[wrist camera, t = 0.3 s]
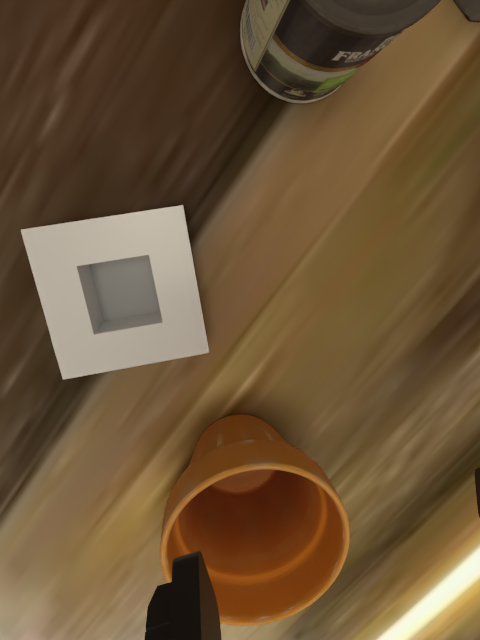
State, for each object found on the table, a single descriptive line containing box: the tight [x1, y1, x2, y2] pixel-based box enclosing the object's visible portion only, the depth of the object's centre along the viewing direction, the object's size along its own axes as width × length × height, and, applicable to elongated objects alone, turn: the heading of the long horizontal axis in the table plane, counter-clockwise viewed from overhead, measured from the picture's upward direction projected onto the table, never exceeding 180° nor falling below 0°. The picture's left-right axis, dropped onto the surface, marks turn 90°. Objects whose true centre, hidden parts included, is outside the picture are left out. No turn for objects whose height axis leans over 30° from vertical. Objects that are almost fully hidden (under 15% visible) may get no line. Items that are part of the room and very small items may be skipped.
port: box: [21, 205, 209, 380], centre depth 35 cm, size 12×12×5 cm
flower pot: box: [160, 414, 350, 626], centre depth 36 cm, size 14×14×13 cm
